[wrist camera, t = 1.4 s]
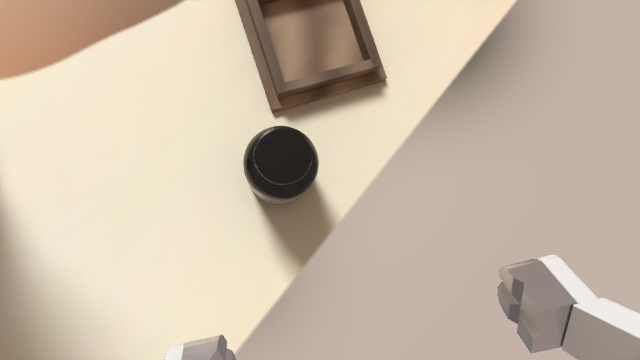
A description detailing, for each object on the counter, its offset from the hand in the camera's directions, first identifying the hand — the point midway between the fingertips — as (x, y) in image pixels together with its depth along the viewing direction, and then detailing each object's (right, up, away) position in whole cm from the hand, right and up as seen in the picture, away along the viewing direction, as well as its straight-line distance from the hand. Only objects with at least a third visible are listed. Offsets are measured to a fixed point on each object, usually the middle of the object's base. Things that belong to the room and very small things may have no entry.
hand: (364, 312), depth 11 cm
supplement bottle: (-6, +5, +32) cm, 33 cm away
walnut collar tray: (-2, +20, +34) cm, 39 cm away
